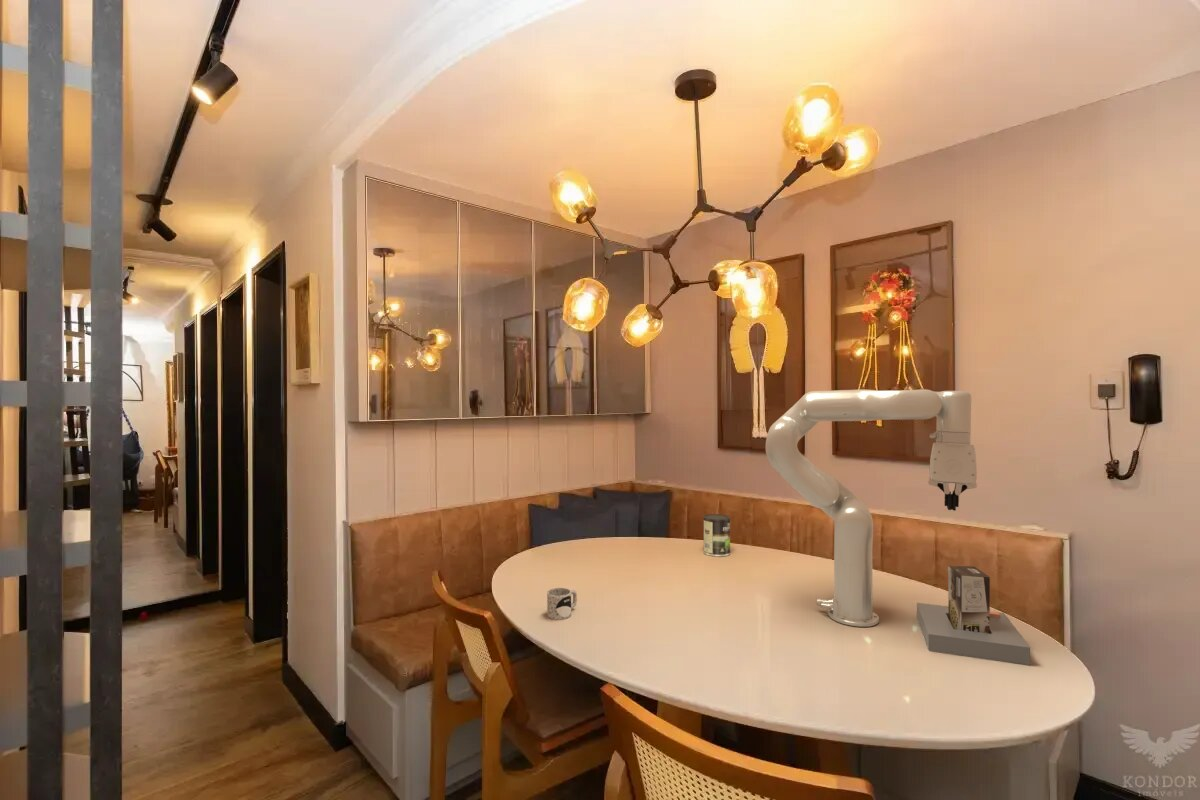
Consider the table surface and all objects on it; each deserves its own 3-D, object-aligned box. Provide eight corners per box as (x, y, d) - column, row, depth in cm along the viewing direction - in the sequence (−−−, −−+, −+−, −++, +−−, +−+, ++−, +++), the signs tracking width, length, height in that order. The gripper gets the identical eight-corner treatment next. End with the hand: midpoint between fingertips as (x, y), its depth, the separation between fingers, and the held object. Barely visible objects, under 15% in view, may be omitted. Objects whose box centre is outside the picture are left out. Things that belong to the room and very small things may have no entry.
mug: (558, 622, 155) (558, 597, 155) (542, 616, 159) (542, 592, 159) (584, 611, 162) (584, 588, 162) (568, 606, 167) (568, 583, 167)
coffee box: (991, 644, 137) (991, 577, 137) (961, 641, 139) (961, 575, 138) (975, 629, 146) (975, 565, 146) (947, 626, 147) (947, 564, 147)
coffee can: (734, 551, 223) (734, 515, 222) (724, 558, 214) (724, 520, 214) (709, 548, 228) (709, 512, 228) (699, 554, 220) (698, 517, 219)
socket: (928, 650, 136) (928, 630, 136) (916, 617, 156) (916, 599, 156) (1030, 665, 128) (1030, 644, 128) (1004, 628, 149) (1003, 609, 149)
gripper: (921, 438, 148) (919, 509, 148) (990, 441, 141) (988, 515, 141) (919, 436, 154) (917, 504, 155) (985, 439, 148) (983, 509, 148)
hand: (951, 509), depth 148 cm, fingers closed
